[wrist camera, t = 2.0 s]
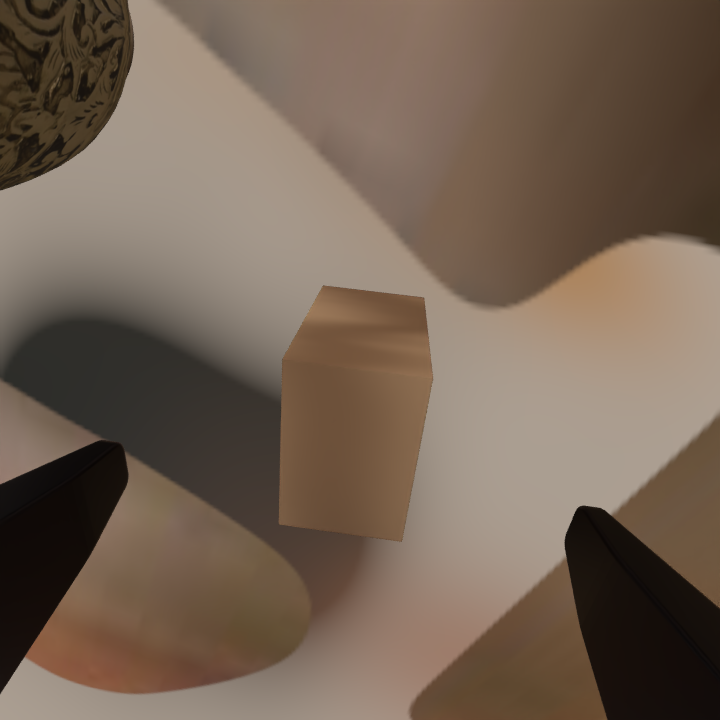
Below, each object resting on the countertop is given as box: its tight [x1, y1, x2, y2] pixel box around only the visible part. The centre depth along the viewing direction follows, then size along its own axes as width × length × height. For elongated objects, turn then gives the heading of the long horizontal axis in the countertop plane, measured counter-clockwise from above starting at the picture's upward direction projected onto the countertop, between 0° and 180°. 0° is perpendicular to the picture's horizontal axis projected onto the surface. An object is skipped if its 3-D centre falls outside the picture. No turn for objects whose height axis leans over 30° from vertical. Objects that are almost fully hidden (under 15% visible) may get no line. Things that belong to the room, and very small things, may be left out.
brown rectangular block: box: [279, 285, 433, 541], centre depth 12 cm, size 3×4×5 cm, turn 174°
